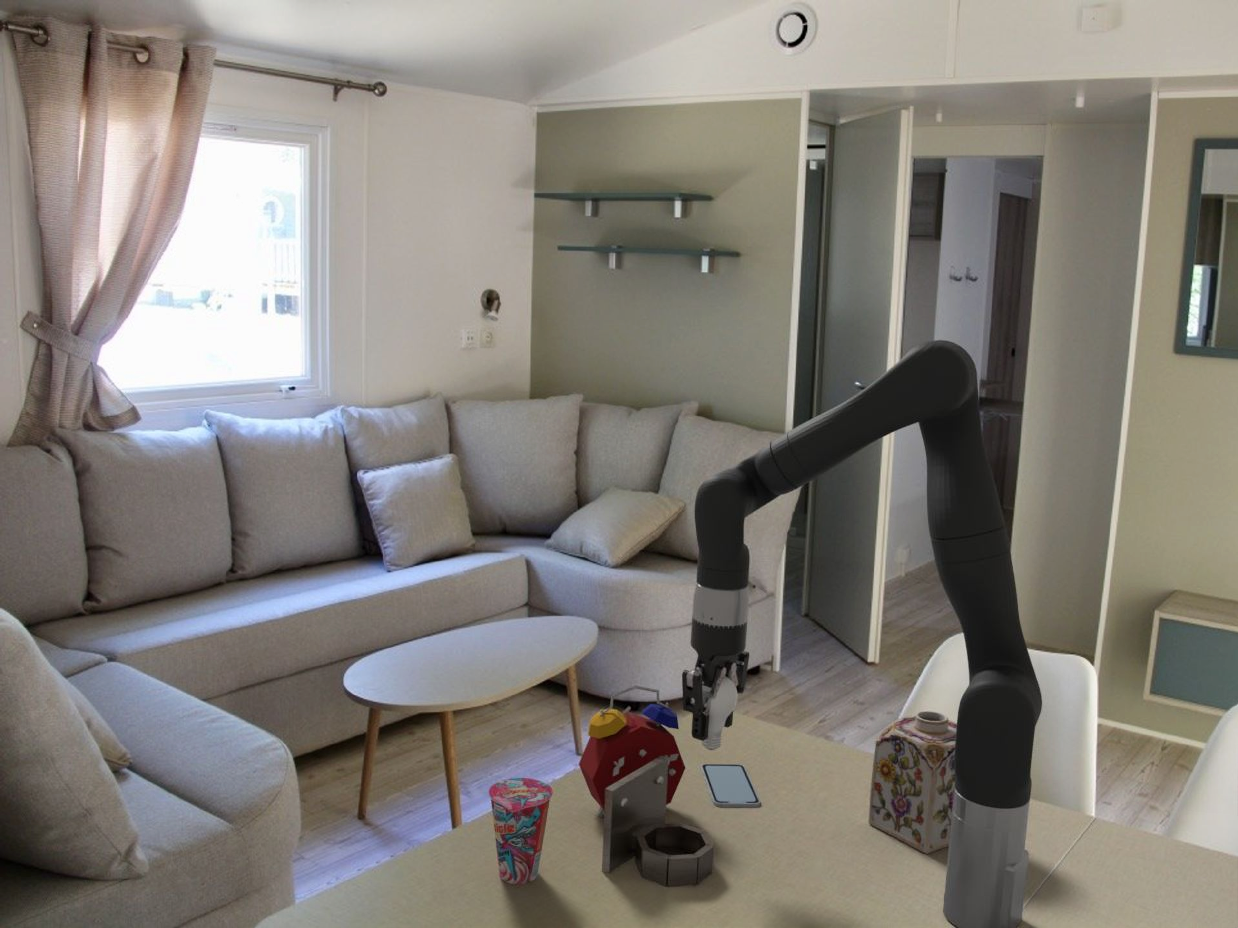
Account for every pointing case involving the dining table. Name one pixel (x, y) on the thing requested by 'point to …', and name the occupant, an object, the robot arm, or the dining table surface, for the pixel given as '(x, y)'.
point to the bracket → (652, 831)
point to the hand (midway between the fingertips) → (712, 731)
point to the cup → (519, 826)
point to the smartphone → (730, 785)
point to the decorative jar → (915, 780)
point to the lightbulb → (719, 711)
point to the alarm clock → (629, 746)
